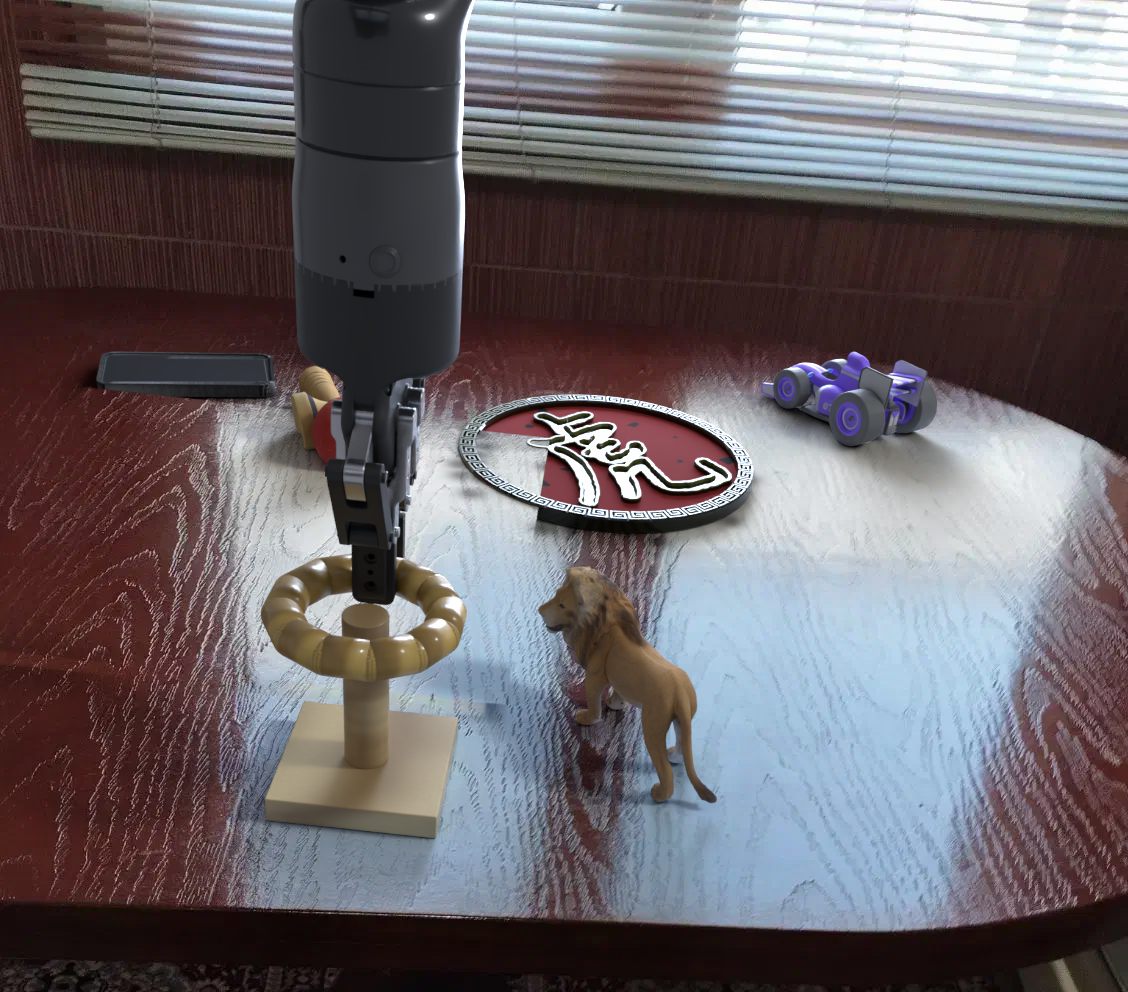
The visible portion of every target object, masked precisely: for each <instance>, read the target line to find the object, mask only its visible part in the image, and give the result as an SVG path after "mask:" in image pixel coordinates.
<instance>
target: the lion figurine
mask: <svg viewBox="0 0 1128 992" xmlns="http://www.w3.org/2000/svg"><path fill="white" fill-rule="evenodd" d="M565 573H566V574H565V578H564V580H563V582H562V586H560V587H558V588H557V589H556V591H555V595H554V597H552V598H551V599H549V600H548V601H547V602H546V601H545V602H544V603H542V604H541V605H539V606H538V608H537V612H538V614H539V616H541V619H542V621H543V623H544V624H545V629H546V631H547V633H548V634H552V635H553V634H557V633H559V632H561V635H562V639H563V642H564V643H566V644H568V646H570V647H571V648H572V649H573V653H574V659H575V662H576V663H577V664H578V665H579V666H580V667H581V668H582V670H584V671H585V672H584V691H585V698H586V703H587V708H586V709H585V708H582V709H580V710H578V712H577V713H576V715H575V718H576V722H577V724H580V725H583V726H592V725H595V724H597V723H598V722H600V720H601V718H602V712H603V711H602V697H603V693H604V692H605V691H606V689H607V687H608V686H609V685H610V686H611V687H612V688H613V690H612V694H611V695H609V696H607V697H606V699H605V704H606V706H607V707H608V708H610V709H612V710H623V709H624V708H625V707H626V706H627V703H628V704H630V705H631V706H633V707H634V708H636V709H639V710H641V712H640V713H641V715H640V720H641V721H640V722H641V727H642V736H643V740H644V741H643V742H644V745H645V748H646V750H647V753H648V755H649V757H650V760H651V763H652V764H653V767H654V769H655V772H656V775H657V777H658V781H659V782H655V783H654V784H653V785H652V787H651V788H650V797H651V799H653V801H655V802H658V803H663V802H666V801H668V800H670V799H671V798H672V797H673V796H674V790H675V782H674V781H675V780H674V769H673V767H672V765H671V763H674V764H683V765H684V769H685V773H686V776H687V779H688V780H689V783H690V784H691V785H692V787H693V789H694V790H695V792H696V794H697V795H698V797H699V798H700V800H701V801H705V802H706V803H709V804H714V803H717V802H718V797H717V796H716V795H715V794H714V792H713V791H712V790H711V789H710V788H708V787H707V785H706V784H704V783H703V782H702V780H700V778H699V777H698V775H697V772H696V770H695V765H694V757H693V742H692V741H693V740H692V736H693V735H692V733H693V732H692V721H693V719H694V717H695V716H696V713H697V711H698V698H697V697H698V696H697V693H696V689H695V687H694V684H693V683H692V681H691V678H690V676H689V674H688V673H687V672H686V671H685V669H683V668H681V667H680V666H677V665H675V664H673V663H672V662H671V661H669V660H668V659H666V658H665V657H663V655H661V653H660V652H659V651H658V650H657V649H656V648H655V647H654V646H653V645H652V644H651V643H650V642H649V641H648V640H647V639H646V638H645V636H644V635H643V632H642V629H641V622H640V616H639V614H638V613H637V610H636V608H635V607H634V606H633V602H632V601H631V600H629V599H628V597H627V596H626V594H625V592H624V591H623V589H620V587H619V586H618V584H617V583H616V582H614V581H613V580H612V578H608V576H607V574H605V573H603V572H601V571H599V570H598V569H596V568H591V566H589V565H588V566H578V567H576V566H573V567H570V568H567V567H565ZM671 726H673V730H674V734H675V745H674V746H670V747H667V734H668V732H669V731H670V729H671ZM670 762H671V763H670Z"/></svg>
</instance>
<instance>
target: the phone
mask: <svg viewBox="0 0 1128 992" xmlns="http://www.w3.org/2000/svg"><path fill="white" fill-rule="evenodd" d="M274 366H275V365H274V358H273V356H272V355H270V354H267V353H257V352H255V353H254V352H253V353H250V352H249V353H248V352H247V353H246V352H180V351H179V352H178V351H177V352H175V351H174V352H173V351H171V352H170V351H169V352H168V351H107V352H104V353H103V354H101V356H100V360H99V365H98V370H97V374H96V386H97V389H99V390H107V391H117V392H125V393H126V392H127V393H134V394H144V395H152V396H153V395H154V396H162V397H170V398H269V397H272V396H274V395H275V394H276V379H275V367H274Z"/></svg>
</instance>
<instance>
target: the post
mask: <svg viewBox="0 0 1128 992" xmlns="http://www.w3.org/2000/svg"><path fill="white" fill-rule="evenodd" d="M390 616H391V615H390V613H389V611H388V610H387V609H386V608H385V607H383V606H382V605H379V604H370V603H361V602H359V603H355V604H351V605H349V606H347V607H345V608H344V609H343V611H342V612H341V617H340V618H341V620H340V621H341V636H344V637H351V638H359V639H366V640H372V639H378V638H384V637H390V625H391V624H390V623H391V622H390V619H391V617H390ZM342 703H343V704H337V703H327V702H318V701H309V700H304V701H303V702H302V705H301V707H300V710H299V712H298V715H297V718H296V720H295V722H294V725H293V727H292V730H291V732H290V734H289V737H288V739H287V743H286V744H285V747H284V750H283V753H282V755H281V758H280V760H279V762H278V765H277V767H276V770H275V772H274V775H273V777H272V780H271V783H270V785H269V787H268V790H267V792H266V795H265V798H264V809H265V819H266V821H270V822H276V823H277V822H279V823H280V822H281V823H289V824H298V825H307V826H316V827H325V828H335V829H344V830H351V831H352V830H354V831H362V832H372V833H381V834H391V835H401V836H408V837H409V836H411V837H418V838H426V839H427V838H429V839H436V838H437V836H438V831H439V826H440V823H441V817H442V813H443V808H444V803H445V798H446V794H447V789H448V784H449V779H450V774H451V772H452V771H451V770H452V765H453V761H454V756H455V751H456V747H457V743H458V737H459V717H458V716H448V715H439V714H429V713H421V712H420V713H419V712H411V711H402V710H393V709H390V679H386V680H380V681H375V682H365V681H358V680H350V679H343V678H342Z"/></svg>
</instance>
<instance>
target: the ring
mask: <svg viewBox="0 0 1128 992" xmlns="http://www.w3.org/2000/svg"><path fill="white" fill-rule="evenodd" d="M350 593H352V553H345V554H339V555H331V556H324V557H323V556H322V557H316V558H314V559H312V560H309V561H307V562H305V563H304V564H302V565H299V566H298V567H296V568H294V569H292V570H290V571H288V572H285V573H284V574H281V576H279V577H278V578H277V579H276V580H275V581H274V583H273V585H272V586H271V589H270V591H269V593H268V594H267V597H266V599H265V600H264V602H263V604H262V606H261V608H260V620H261V622H262V625H263V626H264V629H265V631H266V633H267V635H268V638H269V639H270V641H271V643H272V645H273V648H274V649H275V651H277V653H279V655H281V656H283V657H284V658H286V659H288V660H290V661H292V662H293V663H296V664H297V665H299V666H301V667H303V668H305V669H306V670H307V671H309V672H312V673H314V674H316V675H318V676H322V677H329V678H330V677H331V678H336V679H342V680H343V679H350V680H358V681H365V682H375V681H380V680H386V679H389V680H390V679H396V678H402V677H406V676H407V677H408V676H414V675H419V674H421V673H423V672H425V671H426V670H428V669H429V668H431V667H432V666H434V665H436V664H437V663H439V662H440V661H442V660H444V659H445V658H446V657H448V656H449V655H451V654H452V653H453V652H455V651H456V650H457V648H458V647H459V645H460V642H461V639H462V636H463V632H464V628H465V624H466V622H467V616H468V610H467V606H466V604H465V603H464V601H463V599H462V598H461V597H460V596H459V594H458V593H457V591H456V590H455V588H454V586H453V585H452V584H451V582H450V581H449V580H448V579H447V578H446V577H445V576H444V575H443V574H440V573H438V572H436V571H434V570H432V569H430V568H428V567H426V566H424V565H421V564H419V563H417V562H415V561H413V560H411V559H409V558H406V557H405V558H400V557H397V578H396V595H395V597H396V596H397V597H398V598H400V599H403V600H404V601H407V602H409V603H411V604H413V605H415V606H417V607H419V608H420V610H421V612H422V613H423V615H424V619H423V622H422V623H421V624H419V625H417V626H416V627H414V628H412V629H411V630H409V631H407V632H406V633H403V634H397V635H396V634H395V635H391V636H390V635H389V637H384V638H378V639H372V640H366V639H359V638H351V637H344V636H342V635H335V634H331V633H329V632H327V631H325V630H324V629H321V628H320V627H318V626H316V625H314V624H312V623H311V622H309V621H308V619H307V617H306V615H305V614H306V612H307V610H308V608H309V607H311V606H313V605H314V604H316V603H318V602H319V601H321V600H323V599H325V598H327V597H329V596H335V595H343V594H350Z"/></svg>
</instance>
